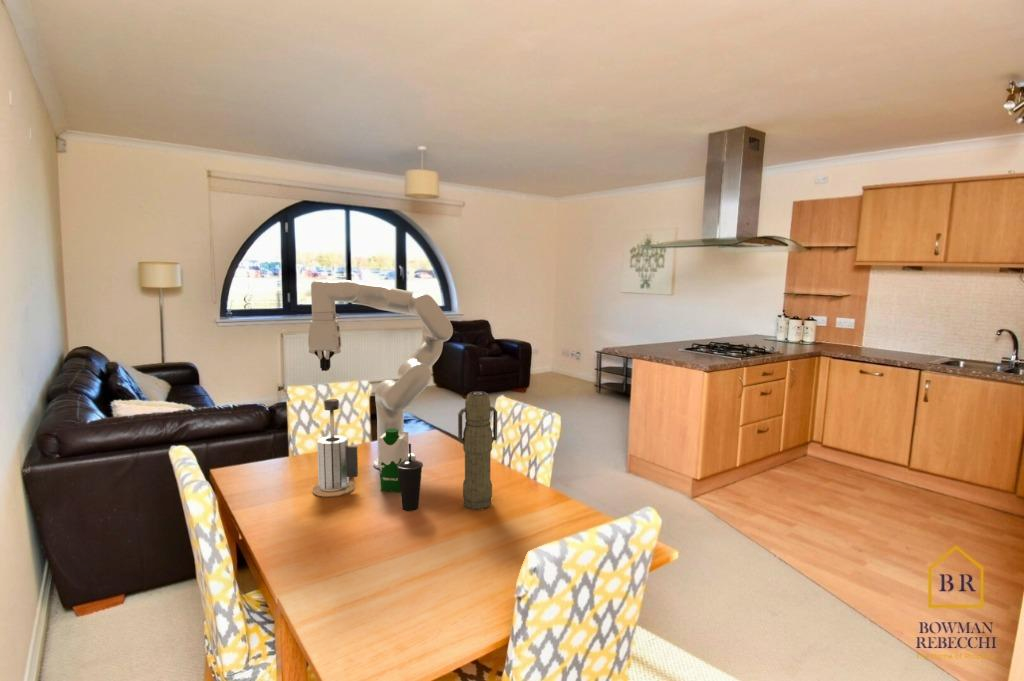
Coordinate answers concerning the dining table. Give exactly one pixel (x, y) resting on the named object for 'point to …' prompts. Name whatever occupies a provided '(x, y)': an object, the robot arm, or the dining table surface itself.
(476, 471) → the thermos
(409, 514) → the dining table surface
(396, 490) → the milk carton
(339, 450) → the cafetiere
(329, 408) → the plunger
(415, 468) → the drinking cup
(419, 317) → the robot arm
